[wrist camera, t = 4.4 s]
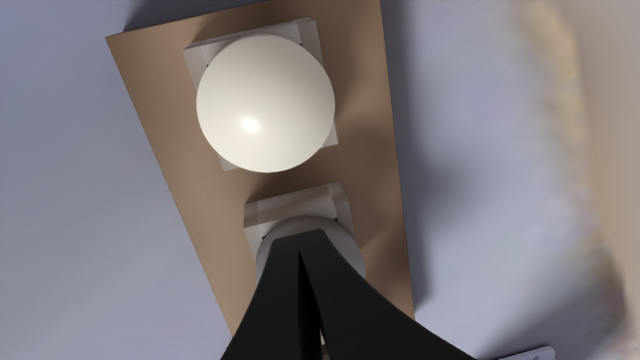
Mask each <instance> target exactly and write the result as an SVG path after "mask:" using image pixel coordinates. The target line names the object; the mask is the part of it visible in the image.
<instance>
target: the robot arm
mask: <svg viewBox="0 0 640 360" xmlns="http://www.w3.org/2000/svg"><path fill="white" fill-rule="evenodd" d="M320 330H321V333H322V336H323V339H324V342H325V345H326V349H327V352H328V355H329V358H330V360H477V359H475V358H473V357H471V356H470V355H468V354H466V353H465V352H463V351H461V350H460V349H458V348H457V347H455V346H453V345H452V344H450V343H448V342H447V341H445V340H443V339H442V338H440V337H438V336H437V335H435V334H433V333H432V332H430V331H429V330H428V329H426V328H425V327H423V326H422V325H420V324H419V323H418V322H416V321H415V320H413V319H412V318H410V317H409V316H408V315H406V314H405V313H404V312H402V311H401V310H400V309H399V308H397V307H396V306H395V305H393V304H392V303H391V302H390V301H388V300H387V299H386V298H385V297H384V296H383V295H381V294H380V293H379V292H378V291H377V290H376V289H375V288H374V287H372V286H371V285H370V284H369V283H368V282H367V281H366V280H365V279H364V278H363V277H362V276H361V275H360V274H359V273H358V272H357V271H356V270H355V269H354V268H353V267H352V266H351V265H350V264H349V263H348V262H347V260H346V259H345V258H344V257H343V256H342V255H341V254H340V252H339V251H338V250H337V249H336V247H335V246H334V245H333V243H332V242H331V241H330V239H329V238H328V236H327V234H326V232H325V231H324V230H322V229H321V228H318V229H314V230H310V231H306V232H302V233H298V234H294V235H290V236H286V237H282V238H278V239H274V240H273V242H272V243H271V246H270V250H269V254H268V257H267V260H266V263H265V266H264V269H263V272H262V275H261V277H260V280H259V282H258V285H257V287H256V290H255V292H254V295H253V297H252V299H251V302H250V304H249V306H248V308H247V310H246V312H245V314H244V316H243V318H242V321H241V323H240V325H239V327H238V329H237V331H236V333H235V334H234V336H233V338H232V340H231V342H230V344H229V345H228V347H227V349H226V351H225V352H224V354H223V356H222V357H221V359H220V360H323V352H322V342H321V333H320ZM554 358H555V350H554V349H553V348H552V347H551V346H545V347H542V348H538V349H535V350H531V351H527V352H524V353H520V354H517V355H513V356H510V357H506V358H502V359H499V360H555V359H554Z"/></svg>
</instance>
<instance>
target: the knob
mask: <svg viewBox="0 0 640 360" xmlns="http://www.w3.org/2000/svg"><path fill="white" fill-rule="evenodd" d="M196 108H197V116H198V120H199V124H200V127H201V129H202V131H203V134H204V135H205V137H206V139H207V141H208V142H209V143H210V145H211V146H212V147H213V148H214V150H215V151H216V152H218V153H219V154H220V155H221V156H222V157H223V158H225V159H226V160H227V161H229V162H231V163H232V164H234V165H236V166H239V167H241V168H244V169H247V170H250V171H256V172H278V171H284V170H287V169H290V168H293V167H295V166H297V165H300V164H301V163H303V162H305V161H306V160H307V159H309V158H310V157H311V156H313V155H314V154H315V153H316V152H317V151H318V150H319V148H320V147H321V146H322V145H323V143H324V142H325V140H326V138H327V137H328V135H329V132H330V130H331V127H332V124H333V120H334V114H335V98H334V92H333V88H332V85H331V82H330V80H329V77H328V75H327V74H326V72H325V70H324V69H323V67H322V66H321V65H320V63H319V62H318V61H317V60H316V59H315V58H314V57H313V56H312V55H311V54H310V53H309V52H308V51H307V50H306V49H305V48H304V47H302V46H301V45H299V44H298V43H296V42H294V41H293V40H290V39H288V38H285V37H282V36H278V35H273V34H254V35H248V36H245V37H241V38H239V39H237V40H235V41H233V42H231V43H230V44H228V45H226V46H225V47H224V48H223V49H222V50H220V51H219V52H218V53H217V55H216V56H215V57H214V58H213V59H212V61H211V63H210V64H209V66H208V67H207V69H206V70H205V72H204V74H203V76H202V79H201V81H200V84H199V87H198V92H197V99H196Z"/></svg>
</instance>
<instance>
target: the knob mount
mask: <svg viewBox="0 0 640 360" xmlns="http://www.w3.org/2000/svg"><path fill="white" fill-rule="evenodd" d="M254 34H273V35H278V36H282V37H285V38H288V39H290V40H293V41H294V42H296V43H298V44H299V45H301V46H302V47H304V48H305V49H306V50H307V51H308V52H309V53H310V54H311V55H312V56H313V57H314V58H315V59H316V60H317V61H318V62H319V63H320V65H321V66H322V67H323V69H324V70H325V72H326V74H327V75H328V77H329V80H330V82H331V85H332V88H333V92H334V98H335V114H334V120H333V124H332V127H331V130H330V132H329V135H328V137H327V138H326V140H325V142H324V143H323V145H322V146H321V147H320V148H319V150H318V151H317V152H316V153H315V154H314V155H313V156H311V157H310V158H309V159H307V160H306V161H305V162H303V163H301V164H300V165H297V166H295V167H293V168H290V169H287V170H284V171H278V172H256V171H250V170H247V169H244V168H241V167H239V166H236V165H234V164H232V163H231V162H229V161H227V160H226V159H225V158H223V157H222V156H221V155H220V154H219V153H218V152H216V151H215V150H214V148H213V147H212V146H211V145H210V143H209V142H208V141H207V139H206V137H205V135H204V134H203V131H202V129H201V127H200V124H199V120H198V116H197V108H196V99H197V92H198V87H199V84H200V81H201V79H202V76H203V74H204V72H205V70H206V69H207V67H208V66H209V64H210V63H211V61H212V59H213V58H214V57H215V56H216V55H217V53H218V52H219V51H220V50H222V49H223V48H224V47H225V46H226V45H228V44H230V43H231V42H233V41H235V40H237V39H239V38H241V37H245V36H248V35H254ZM105 39H106V41H107V44H108V46H109V48H110V51H111V53H112V55H113V58H114V60H115V62H116V65H117V67H118V69H119V72H120V74H121V76H122V79H123V81H124V84H125V86H126V88H127V91H128V93H129V95H130V98H131V100H132V102H133V105H134V107H135V109H136V112H137V114H138V116H139V119H140V121H141V123H142V126H143V128H144V131H145V133H146V135H147V138H148V140H149V142H150V145H151V147H152V149H153V152H154V154H155V156H156V159H157V161H158V163H159V166H160V168H161V170H162V173H163V175H164V178H165V180H166V182H167V185H168V187H169V189H170V192H171V194H172V196H173V199H174V201H175V203H176V206H177V208H178V210H179V213H180V215H181V217H182V220H183V222H184V224H185V227H186V229H187V232H188V234H189V236H190V239H191V241H192V243H193V246H194V248H195V250H196V253H197V255H198V257H199V260H200V262H201V264H202V267H203V269H204V271H205V274H206V276H207V279H208V281H209V283H210V286H211V288H212V290H213V293H214V295H215V297H216V300H217V302H218V304H219V307H220V309H221V311H222V314H223V316H224V318H225V321H226V323H227V326H228V328H229V330H230V333H231V335H232V337H233V336H234V334H235V333H236V331H237V329H238V327H239V325H240V323H241V321H242V318H243V316H244V314H245V312H246V310H247V308H248V306H249V304H250V302H251V299H252V297H253V295H254V292H255V290H256V287H257V285H258V282H259V280H260V277H261V275H262V272H263V269H264V266H265V263H266V260H267V257H268V254H269V250H270V246H271V243H272V242H273V240H274V239H278V238H282V237H286V236H290V235H294V234H298V233H302V232H306V231H310V230H314V229H318V228H321V229H322V230H324V231H325V232H326V234H327V236H328V238H329V239H330V241H331V242H332V243H333V245H334V246H335V247H336V249H337V250H338V251H339V252H340V254H341V255H342V256H343V257H344V258H345V259H346V260H347V262H348V263H349V264H350V265H351V266H352V267H353V268H354V269H355V270H356V271H357V272H358V273H359V274H360V275H361V276H362V277H363V278H364V279H365V280H366V281H367V282H368V283H369V284H370V285H371V286H372V287H374V288H375V289H376V290H377V291H378V292H379V293H380V294H381V295H383V296H384V297H385V298H386V299H387V300H388V301H390V302H391V303H392V304H393V305H395V306H396V307H397V308H399V309H400V310H401V311H402V312H404V313H405V314H406V315H408V316H409V317H410V318H412V319H413V320H415V315H414V305H413V296H412V287H411V278H410V269H409V260H408V251H407V242H406V233H405V224H404V214H403V205H402V196H401V187H400V178H399V169H398V160H397V151H396V142H395V133H394V123H393V114H392V105H391V96H390V87H389V78H388V69H387V60H386V51H385V42H384V32H383V23H382V14H381V5H380V0H267V1H262V2H258V3H253V4H249V5H244V6H239V7H235V8H230V9H226V10H221V11H217V12H212V13H207V14H203V15H198V16H194V17H189V18H185V19H180V20H175V21H171V22H166V23H162V24H157V25H153V26H148V27H143V28H139V29H134V30H130V31H125V32H121V33H117V34H114V35H110V36H107V37H105ZM320 333H321V330H320ZM321 342H322V352H323V360H330V358H329V355H328V352H327V349H326V345H325V342H324V339H323V336H322V333H321Z"/></svg>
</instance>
